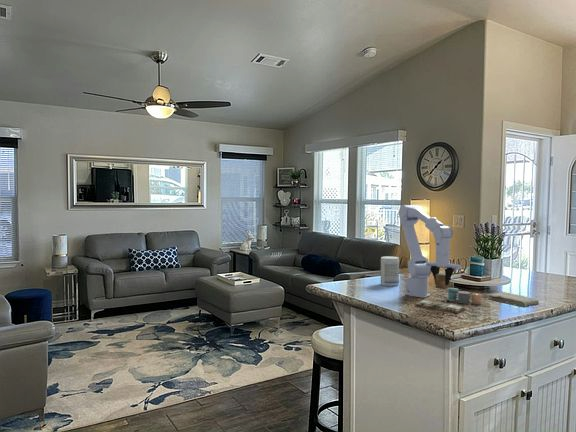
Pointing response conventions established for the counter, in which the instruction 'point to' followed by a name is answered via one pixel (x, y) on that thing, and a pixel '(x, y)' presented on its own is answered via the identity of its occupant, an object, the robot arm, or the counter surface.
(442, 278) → the walnut block
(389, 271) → the supplement tub
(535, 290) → the counter surface
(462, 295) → the charcoal cube
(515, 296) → the washcloth
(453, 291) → the teal spool
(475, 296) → the peach round blob
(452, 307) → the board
